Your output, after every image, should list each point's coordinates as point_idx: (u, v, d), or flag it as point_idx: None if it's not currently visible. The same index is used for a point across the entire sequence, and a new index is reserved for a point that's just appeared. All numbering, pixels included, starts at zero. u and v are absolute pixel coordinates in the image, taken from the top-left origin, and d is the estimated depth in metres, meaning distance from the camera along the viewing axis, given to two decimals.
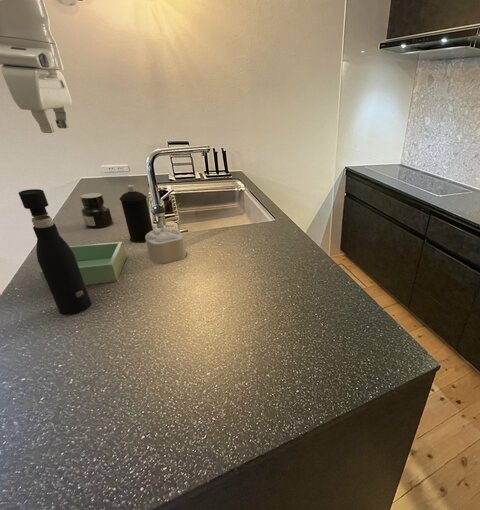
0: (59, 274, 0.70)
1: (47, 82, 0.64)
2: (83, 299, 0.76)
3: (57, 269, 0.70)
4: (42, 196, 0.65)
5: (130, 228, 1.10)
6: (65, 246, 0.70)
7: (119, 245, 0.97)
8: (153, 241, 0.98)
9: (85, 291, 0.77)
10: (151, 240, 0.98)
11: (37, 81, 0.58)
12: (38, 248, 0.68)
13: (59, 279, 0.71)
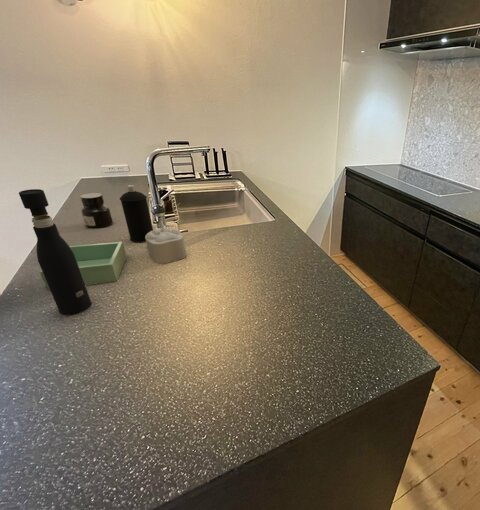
0: (59, 274, 0.70)
1: None
2: (83, 299, 0.76)
3: (57, 269, 0.70)
4: (42, 196, 0.65)
5: (130, 228, 1.10)
6: (65, 246, 0.70)
7: (119, 245, 0.97)
8: (153, 241, 0.98)
9: (85, 291, 0.77)
10: (151, 240, 0.98)
11: None
12: (38, 248, 0.68)
13: (60, 279, 0.71)
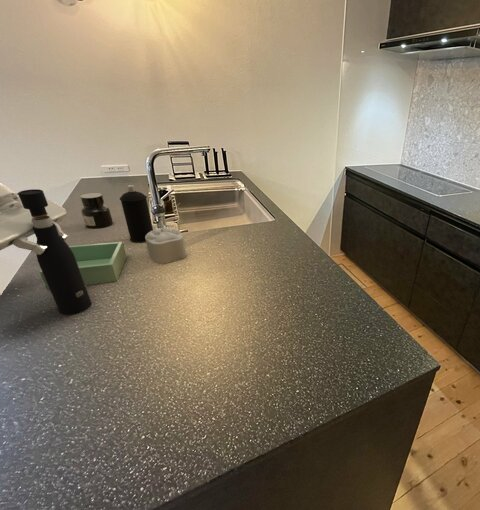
0: (59, 274, 0.70)
1: (7, 214, 0.64)
2: (83, 299, 0.76)
3: (57, 269, 0.70)
4: (42, 196, 0.65)
5: (130, 228, 1.10)
6: (65, 246, 0.70)
7: (119, 245, 0.97)
8: (153, 241, 0.98)
9: (85, 291, 0.77)
10: (151, 240, 0.98)
11: None
12: None
13: (59, 279, 0.71)
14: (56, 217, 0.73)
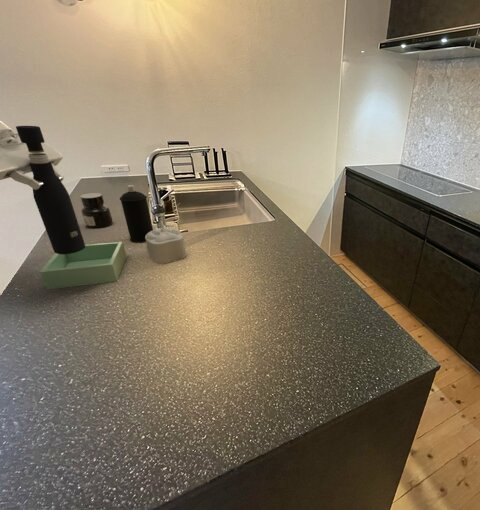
0: (54, 211, 0.73)
1: (5, 148, 0.67)
2: (77, 240, 0.79)
3: (52, 206, 0.72)
4: (38, 132, 0.68)
5: (130, 228, 1.10)
6: (61, 185, 0.73)
7: (119, 245, 0.97)
8: (153, 241, 0.98)
9: (79, 233, 0.79)
10: (151, 240, 0.98)
11: None
12: None
13: (55, 217, 0.74)
14: (52, 159, 0.76)
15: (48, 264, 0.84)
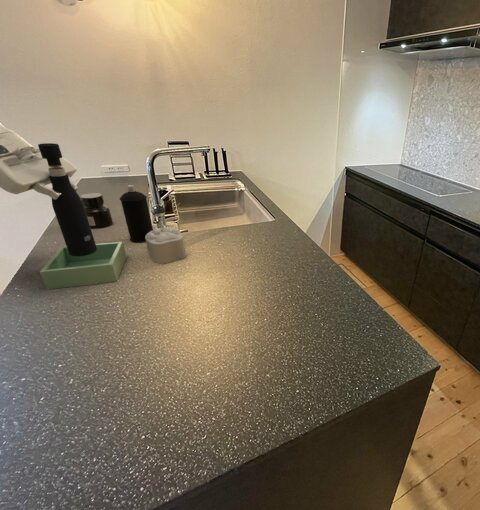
0: (71, 218, 0.82)
1: (28, 163, 0.77)
2: (90, 243, 0.88)
3: (69, 213, 0.82)
4: (57, 148, 0.77)
5: (130, 228, 1.10)
6: (76, 194, 0.83)
7: (119, 245, 0.97)
8: (153, 241, 0.98)
9: (92, 237, 0.89)
10: (151, 240, 0.98)
11: (2, 166, 0.70)
12: None
13: (71, 223, 0.83)
14: (68, 171, 0.85)
15: (48, 264, 0.84)
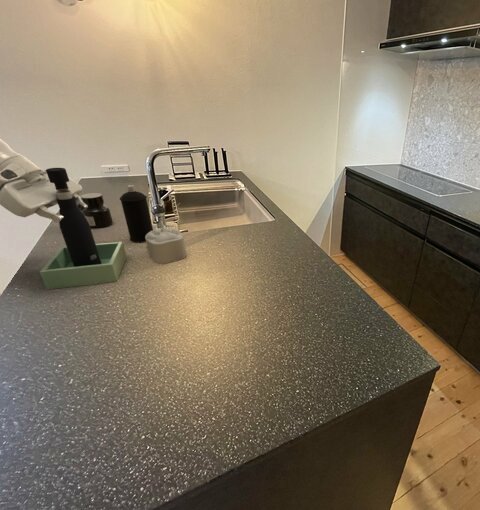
0: (77, 238, 0.85)
1: (36, 186, 0.79)
2: (96, 262, 0.91)
3: (75, 234, 0.84)
4: (64, 173, 0.80)
5: (130, 228, 1.10)
6: (82, 216, 0.85)
7: (119, 245, 0.97)
8: (153, 241, 0.98)
9: (98, 255, 0.91)
10: (151, 240, 0.98)
11: (11, 191, 0.72)
12: None
13: (77, 243, 0.85)
14: (74, 191, 0.87)
15: (48, 264, 0.84)
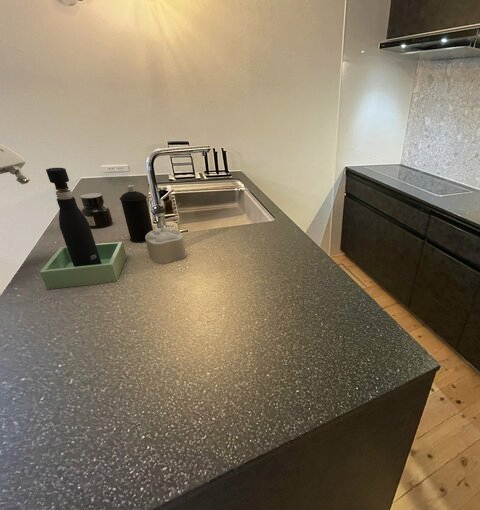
0: (77, 238, 0.85)
1: None
2: (96, 262, 0.91)
3: (75, 234, 0.84)
4: (64, 173, 0.80)
5: (130, 228, 1.10)
6: (82, 216, 0.85)
7: (119, 245, 0.97)
8: (153, 241, 0.98)
9: (98, 255, 0.91)
10: (151, 240, 0.98)
11: None
12: (60, 216, 0.82)
13: (77, 243, 0.85)
14: (14, 163, 0.83)
15: (48, 264, 0.84)
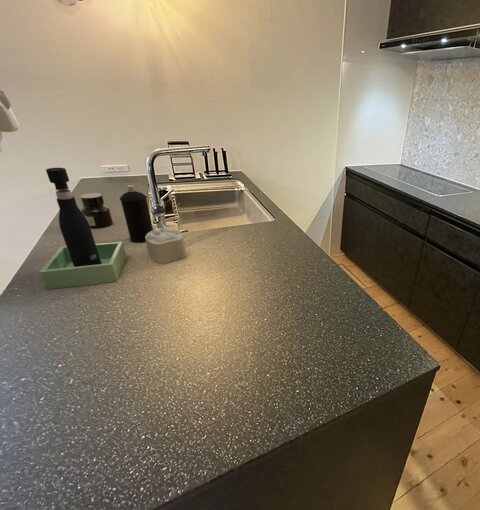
0: (77, 238, 0.85)
1: None
2: (96, 262, 0.91)
3: (75, 234, 0.84)
4: (64, 173, 0.80)
5: (130, 228, 1.10)
6: (82, 216, 0.85)
7: (119, 245, 0.97)
8: (153, 241, 0.98)
9: (98, 255, 0.91)
10: (151, 240, 0.98)
11: None
12: (60, 216, 0.82)
13: (77, 243, 0.85)
14: None
15: (48, 264, 0.84)
